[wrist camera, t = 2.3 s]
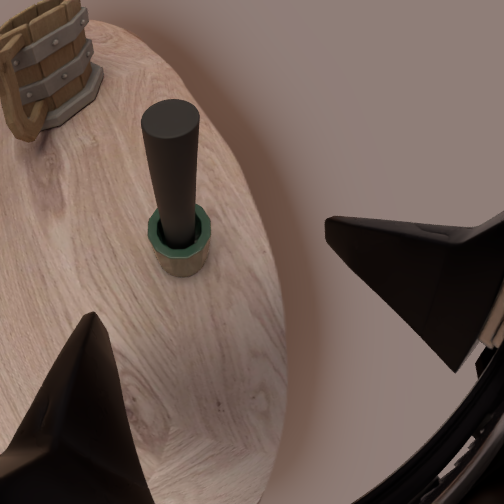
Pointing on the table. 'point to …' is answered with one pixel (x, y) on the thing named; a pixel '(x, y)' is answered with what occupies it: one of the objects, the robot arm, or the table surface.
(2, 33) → the tankard
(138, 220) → the table surface
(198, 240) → the pen pot
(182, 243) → the stylus
